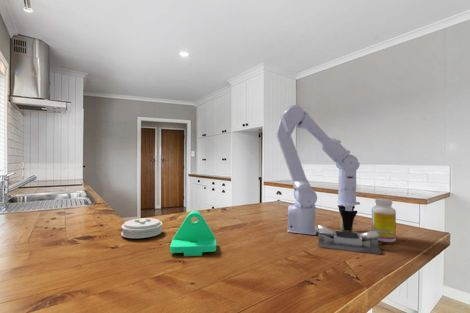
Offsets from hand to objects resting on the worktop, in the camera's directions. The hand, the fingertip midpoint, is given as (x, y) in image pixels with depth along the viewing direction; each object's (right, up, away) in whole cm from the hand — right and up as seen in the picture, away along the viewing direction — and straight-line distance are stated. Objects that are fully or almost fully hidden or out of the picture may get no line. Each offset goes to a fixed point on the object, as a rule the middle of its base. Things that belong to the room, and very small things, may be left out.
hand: (346, 227), depth 88 cm
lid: (-70, -1, -5) cm, 70 cm away
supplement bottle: (+9, -2, -7) cm, 11 cm away
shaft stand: (-6, -1, -13) cm, 14 cm away
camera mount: (-50, -1, -19) cm, 54 cm away
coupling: (0, -2, 0) cm, 2 cm away
